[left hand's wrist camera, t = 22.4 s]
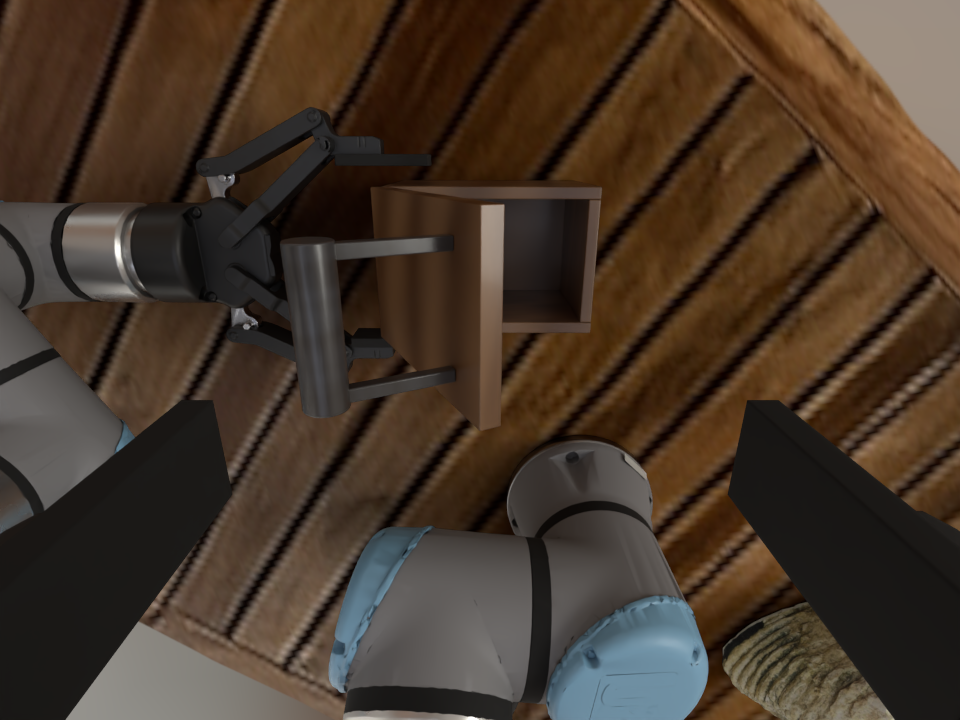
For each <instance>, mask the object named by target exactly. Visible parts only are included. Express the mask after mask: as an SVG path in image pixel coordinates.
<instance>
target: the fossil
mask: <svg viewBox="0 0 960 720" xmlns="http://www.w3.org/2000/svg"><path fill="white" fill-rule="evenodd" d="M722 665H723V669H724V671H725V672H726V673H727V674H728V675H729V677H730V679H731V681H732V683H733V685H734V686H736V687H737V689H738V690H740V692H741V693H743V694H745V695H747V696H748V697H749V698H751V699H752V700H754V701H755V702H757V703H759V704H761V705H762V707H763V708H764V709H766V710H769V711H770V712H771V713H772V714H773V715H775V716H777V717H779V718H780V719H781V720H894V718H893V717H892V715H891V714H890V713H889V711H888V710H887V709H886V707H885V706H884V705H883V703H882V702H881V701H880V699H879V698H878V697H877V695H876V694H875V693H874V691H873V690H872V688H871V687H870V686H869V684H868V683H867V682H866V680H865V679H864V678H863V676H862V675H861V674H860V672H859V671H858V670H857V668H856V667H855V666H854V664H853V663H852V661H851V660H850V659H849V657H848V656H847V655H846V653H845V652H844V651H843V649H842V648H841V647H840V645H839V644H838V643H837V641H836V640H835V639H834V637H833V636H832V634H831V633H830V632H829V630H828V629H827V628H826V626H825V625H824V624H823V622H822V621H821V620H820V618H819V617H818V616H817V614H816V613H815V611H814V610H813V609H812V607H811V606H810V605H809V603H808V602H805V603H801V604H797V605H796V606H794V607H791V608H787V609H783V610H780V611H778V612H775V613H773V614H771V615H768V616H766V617H764V618H761V619H759V620H757V621H755V622H753V623H752V624H750V625H749V626H747V627H746V628H745V629H743V630H742V631H741V632H739V633H738V634H737V635H736V637H734V638H732V639H731V640H730V641H729V642H728V643H727V644H726V645H725V646H724V647H723V659H722Z"/></svg>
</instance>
